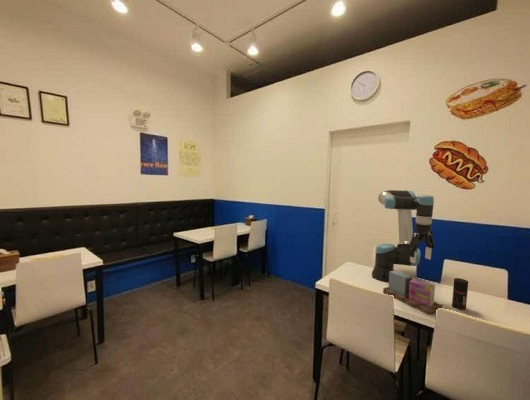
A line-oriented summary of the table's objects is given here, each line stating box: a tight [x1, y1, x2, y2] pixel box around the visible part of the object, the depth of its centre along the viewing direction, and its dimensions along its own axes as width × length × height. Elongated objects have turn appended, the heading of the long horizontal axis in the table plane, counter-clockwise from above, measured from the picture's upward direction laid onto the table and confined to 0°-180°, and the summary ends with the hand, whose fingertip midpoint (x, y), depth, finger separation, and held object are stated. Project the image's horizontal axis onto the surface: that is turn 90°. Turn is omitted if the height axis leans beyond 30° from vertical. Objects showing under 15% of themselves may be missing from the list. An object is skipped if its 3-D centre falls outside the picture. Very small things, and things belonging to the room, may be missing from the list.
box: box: [409, 278, 436, 308], centre depth 133 cm, size 10×6×12 cm, turn 40°
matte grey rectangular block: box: [388, 269, 414, 296], centre depth 144 cm, size 11×6×12 cm, turn 26°
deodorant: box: [451, 277, 469, 311], centre depth 132 cm, size 6×6×15 cm
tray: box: [382, 286, 444, 316], centre depth 139 cm, size 27×11×3 cm, turn 26°
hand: (420, 260), depth 138 cm, fingers open, 13 cm apart
